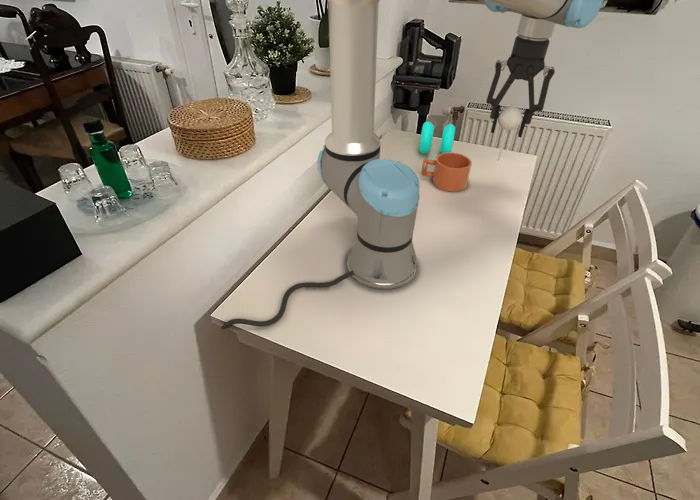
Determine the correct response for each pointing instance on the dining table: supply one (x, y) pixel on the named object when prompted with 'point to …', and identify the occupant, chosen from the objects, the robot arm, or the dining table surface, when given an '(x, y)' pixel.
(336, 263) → the dining table surface
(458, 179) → the mug
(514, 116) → the lollipop
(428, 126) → the donuts
